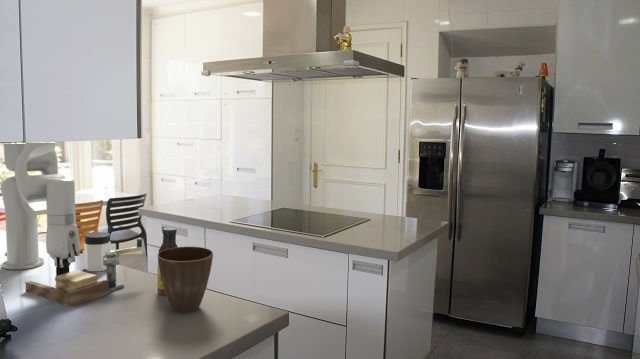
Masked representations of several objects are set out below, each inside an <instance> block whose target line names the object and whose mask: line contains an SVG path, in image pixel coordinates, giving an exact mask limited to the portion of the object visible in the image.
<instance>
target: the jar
mask: <svg viewBox="0 0 640 359" xmlns="http://www.w3.org/2000/svg"><path fill="white" fill-rule="evenodd" d="M107 250H112V242H111V233H109V232H104V231H103V232H102V231H101V232H100V231H97V232H89V233H86V234H85V235H84V242H83V256H84V257H83V258H84V263H83V265H84V269H85V270H86V271H87V272H103V271H106V266H104V265H103V256H105V251H107Z"/></svg>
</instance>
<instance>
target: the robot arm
mask: <svg viewBox="0 0 640 359" xmlns="http://www.w3.org/2000/svg"><path fill="white" fill-rule="evenodd" d="M56 146H57V144H56V143H26V144H4V143H3V156H4V165H5V168H6V169H7V170H8V171H9V172H13V173H14V176H9V177H7V178H5V179H4V180H3V181H2V182H1V183H0V184H1V185H0V193H1V196H2V201H3V207H4V214H5V217H4V218H5V220H4V221H5V235H6V236H5V237H6V238H5V239H6V252H5V253H4V257H6V261H3V263H2V264H1V266H2V268H3V269H5V270H10V271H12V270H13V271H15V270H19V271H20V270H28V269H33V268H37V267H39V266H42V265H43V264H44V263H45V260H44V258H42V257H40V255H39V232H38V231H39V229H38V228H39V227H38V225H39V224H38V214H37V212H36V211H35V209H33V208H32V207H31V206H30V205H29V204H30V203H31V204H32V203H38V202H39V203H40V202H46V203H45V204H46V233H45V237H46V238H45V246H46V247H45V248H46V253H47V254H48V255H49V257H50V258H51V259H53V263H54V266H55V277H56V276H58V275H62V274H65V273H69V272H70V266H71V264H73V263H75V262H76V257H79V256H80V255H81V245H80V242H81V241H80V234H79V229H78V225H77V223H76V190H75V189H76V188H75V186H76V185H75V184H76V183H75V181H74V179H73V178H71V177H68V176H67V175H66V174H62V173H61V174H60V173H59V167H58V165H59V164H58V157H57V155H58V154H57V151H56V150H55V148H56ZM28 172H40V173H41V174H34V175H33V174H29V173H28Z"/></svg>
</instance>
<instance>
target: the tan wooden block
mask: <svg viewBox="0 0 640 359" xmlns="http://www.w3.org/2000/svg"><path fill="white" fill-rule="evenodd" d="M54 281H55V288H56V289H60V290H63V291H66V292H68V291H71V290H74V289H78V288H81V287H84V286H87V285H91V284H94V283H97V281H99V276H98V275H97V274H95V273H90V272H86V271H82V270H79V269H77V270H74V271H69V273H65V274H62V275H58V276H56V275H55V277H54Z"/></svg>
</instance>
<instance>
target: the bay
mask: <svg viewBox="0 0 640 359" xmlns="http://www.w3.org/2000/svg"><path fill="white" fill-rule="evenodd" d="M24 287H25V293H28V294H32V295H35V296H37V297H41V298H44V299H47V300H50V301H53V302H56V303H58V304H62V305H65V306H68V307H74V306H77V305H79V304H84V303H86V302H88V301H89V302H90V301H92V300H94V299H98V298H101V297H103V296H107V295H109V294H110V292H109V282H108V281H107V279H106V280H105V279H104V280H101V281H99V280H97V283H94V284H91V285H87V286H84V287H81V288H78V289H74V290H71V291H68V292H66V291H63V290H60V289H56V287H53V286H51V285H50V286H49V285H46V284H43V283H39V282H36V281H33V280H28V281H25V286H24Z"/></svg>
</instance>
